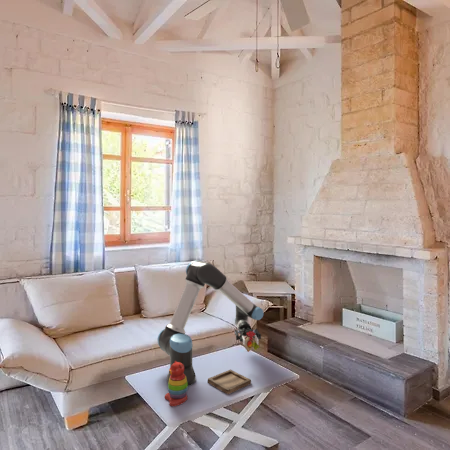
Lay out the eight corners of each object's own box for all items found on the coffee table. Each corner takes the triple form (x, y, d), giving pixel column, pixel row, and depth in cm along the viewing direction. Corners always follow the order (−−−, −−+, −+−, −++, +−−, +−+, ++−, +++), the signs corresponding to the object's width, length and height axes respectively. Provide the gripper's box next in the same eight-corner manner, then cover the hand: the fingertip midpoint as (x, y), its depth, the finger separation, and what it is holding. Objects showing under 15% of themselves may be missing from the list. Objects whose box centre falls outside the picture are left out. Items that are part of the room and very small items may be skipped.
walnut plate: (207, 382, 190) (207, 378, 190) (230, 373, 200) (230, 369, 200) (228, 394, 178) (228, 390, 178) (251, 383, 188) (251, 379, 188)
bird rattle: (252, 356, 197) (262, 346, 203) (247, 340, 194) (257, 330, 199) (244, 353, 202) (253, 343, 207) (238, 337, 198) (248, 327, 204)
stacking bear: (163, 396, 176) (163, 360, 175) (183, 391, 181) (182, 356, 180) (171, 407, 167) (170, 369, 166) (191, 401, 171) (191, 365, 170)
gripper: (260, 333, 220) (268, 348, 197) (228, 334, 218) (233, 349, 195) (260, 321, 219) (268, 334, 196) (228, 322, 217) (233, 336, 194)
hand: (251, 342), depth 196 cm, fingers closed on bird rattle, 7 cm apart
